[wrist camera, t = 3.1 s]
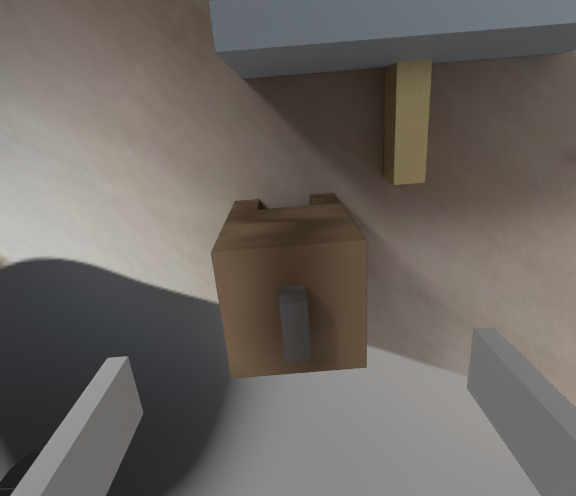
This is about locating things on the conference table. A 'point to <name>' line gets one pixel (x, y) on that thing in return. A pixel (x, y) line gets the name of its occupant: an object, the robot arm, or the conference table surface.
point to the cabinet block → (292, 288)
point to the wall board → (383, 32)
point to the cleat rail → (406, 121)
